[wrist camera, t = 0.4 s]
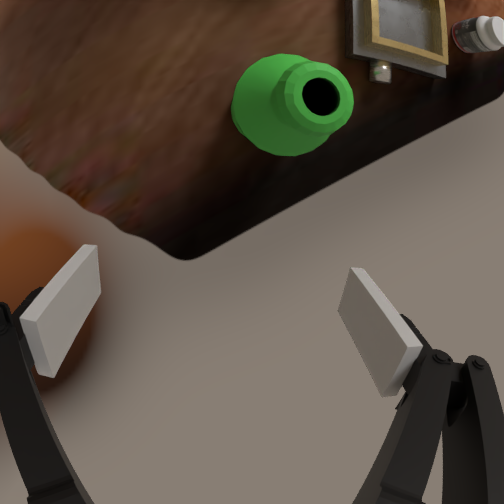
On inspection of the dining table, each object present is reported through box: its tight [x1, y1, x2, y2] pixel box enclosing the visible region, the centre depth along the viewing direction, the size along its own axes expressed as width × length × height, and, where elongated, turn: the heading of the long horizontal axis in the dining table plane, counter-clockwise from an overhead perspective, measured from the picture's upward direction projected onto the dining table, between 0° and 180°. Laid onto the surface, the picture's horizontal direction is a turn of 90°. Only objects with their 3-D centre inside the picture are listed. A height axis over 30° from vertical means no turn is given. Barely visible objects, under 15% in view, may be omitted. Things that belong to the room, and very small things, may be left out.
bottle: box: [231, 54, 354, 156], centre depth 26 cm, size 9×9×25 cm
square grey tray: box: [345, 0, 448, 84], centre depth 31 cm, size 18×15×6 cm
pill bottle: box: [452, 16, 504, 53], centre depth 29 cm, size 6×6×10 cm
